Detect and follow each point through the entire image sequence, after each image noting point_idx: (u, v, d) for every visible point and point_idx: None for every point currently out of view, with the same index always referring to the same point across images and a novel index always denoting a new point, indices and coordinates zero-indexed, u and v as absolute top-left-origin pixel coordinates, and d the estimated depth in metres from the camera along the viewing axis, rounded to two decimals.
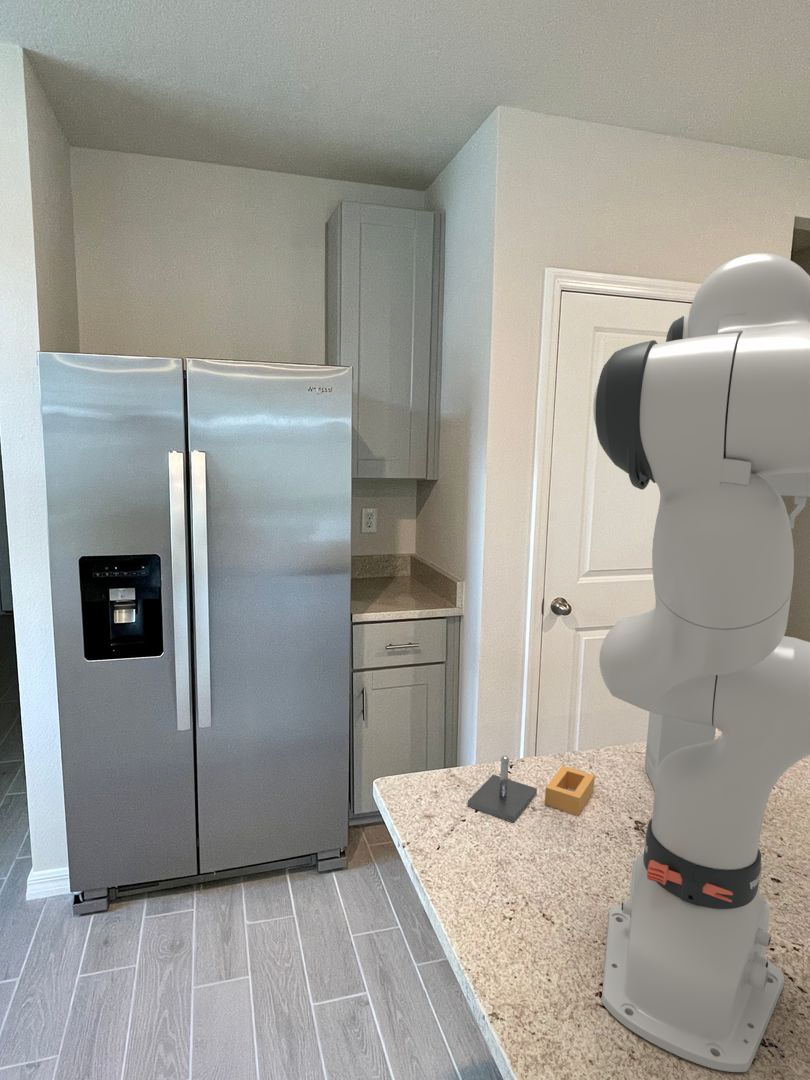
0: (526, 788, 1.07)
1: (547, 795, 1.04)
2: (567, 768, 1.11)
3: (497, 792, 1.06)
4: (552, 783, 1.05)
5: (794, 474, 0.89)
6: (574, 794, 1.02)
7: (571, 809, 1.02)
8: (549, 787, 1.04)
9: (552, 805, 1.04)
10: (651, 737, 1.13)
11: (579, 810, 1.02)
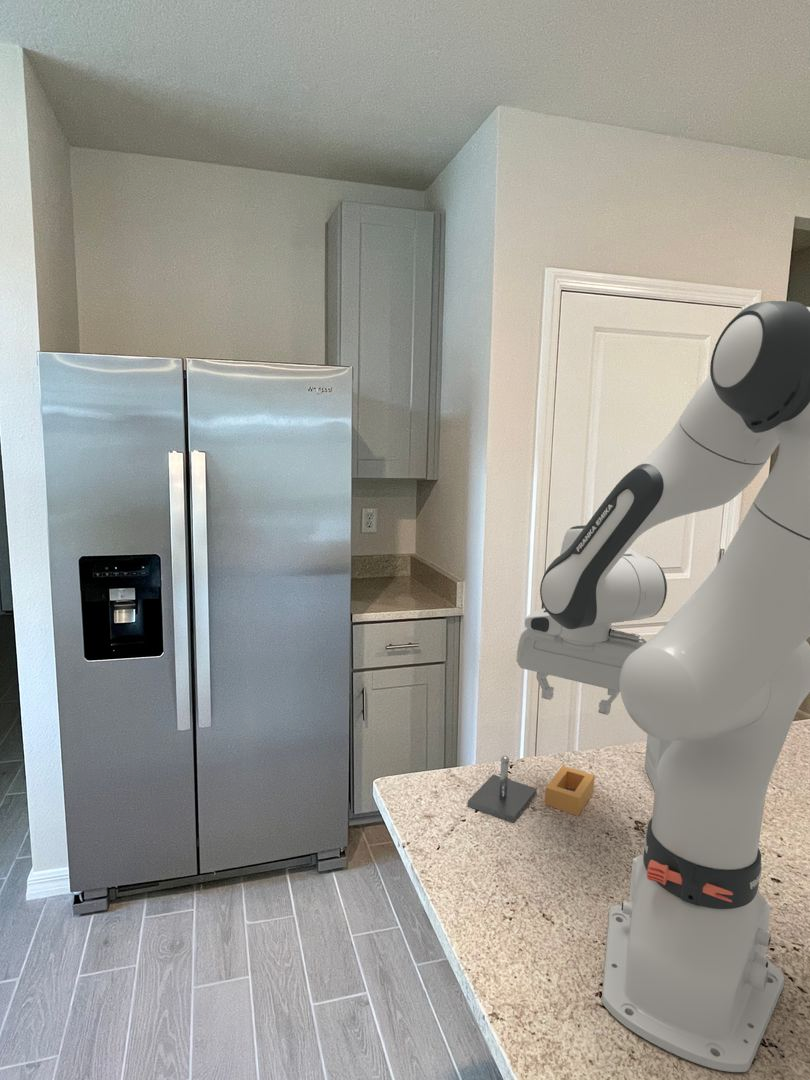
0: (526, 788, 1.07)
1: (547, 795, 1.04)
2: (567, 768, 1.11)
3: (497, 792, 1.06)
4: (552, 783, 1.05)
5: None
6: (574, 794, 1.02)
7: (571, 809, 1.02)
8: (549, 787, 1.04)
9: (552, 805, 1.04)
10: (651, 737, 1.13)
11: (579, 810, 1.02)
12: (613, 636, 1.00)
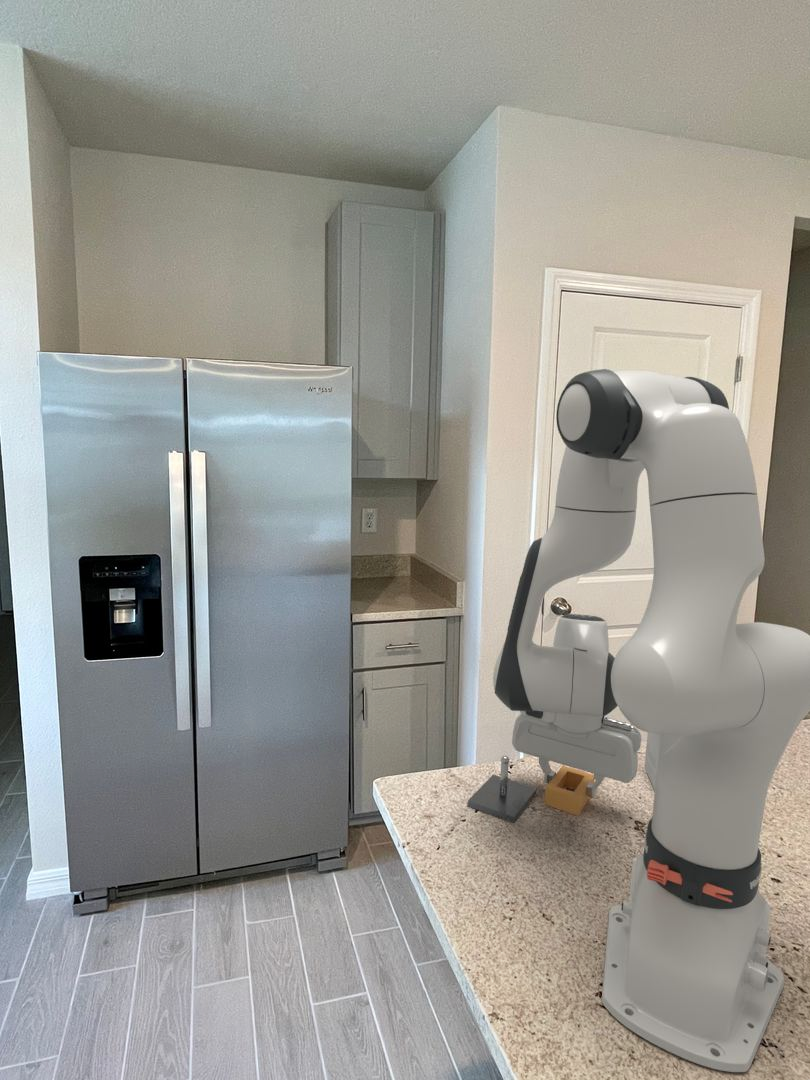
0: (526, 788, 1.07)
1: (547, 795, 1.04)
2: (567, 768, 1.11)
3: (497, 792, 1.06)
4: (552, 783, 1.05)
5: None
6: (574, 793, 1.02)
7: (571, 809, 1.02)
8: (549, 787, 1.04)
9: (552, 805, 1.04)
10: (651, 737, 1.13)
11: (579, 810, 1.02)
12: (606, 724, 1.02)
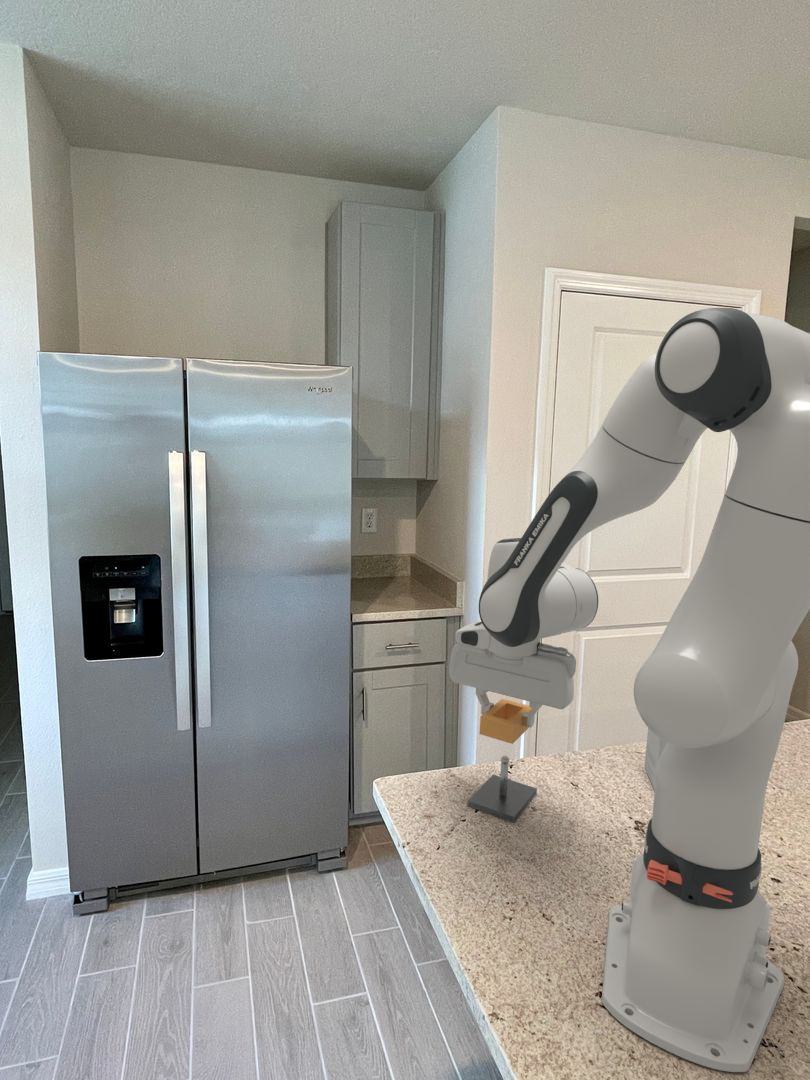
0: (526, 788, 1.07)
1: (482, 724, 1.01)
2: (507, 701, 1.07)
3: (497, 792, 1.06)
4: (488, 713, 1.02)
5: None
6: (509, 722, 0.99)
7: (505, 737, 0.99)
8: (484, 716, 1.01)
9: (487, 734, 1.01)
10: (651, 737, 1.13)
11: (513, 738, 0.99)
12: (541, 650, 0.99)
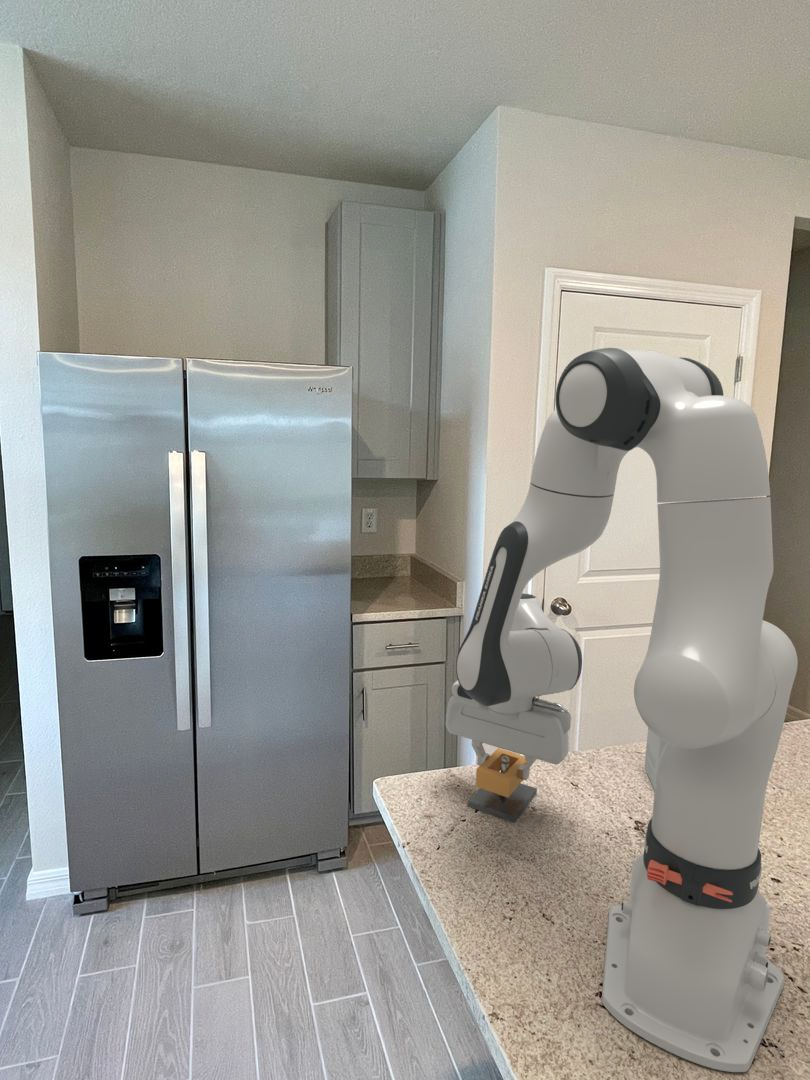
0: (526, 788, 1.07)
1: (478, 777, 1.02)
2: (502, 750, 1.09)
3: None
4: (484, 765, 1.04)
5: None
6: (504, 775, 1.01)
7: (501, 791, 1.01)
8: (480, 769, 1.02)
9: (483, 787, 1.02)
10: (651, 737, 1.13)
11: (509, 792, 1.00)
12: (536, 705, 1.00)
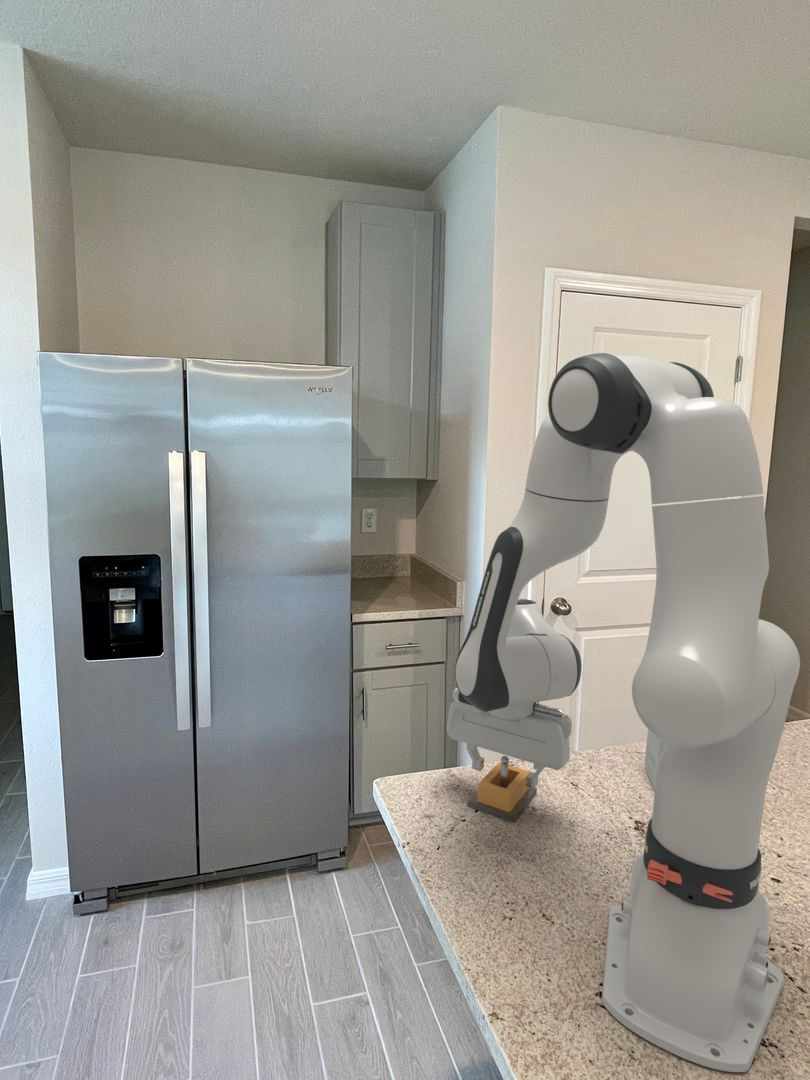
0: None
1: (479, 792, 1.03)
2: None
3: None
4: (485, 780, 1.04)
5: None
6: (506, 790, 1.01)
7: (502, 806, 1.01)
8: (481, 784, 1.03)
9: (484, 802, 1.02)
10: (651, 737, 1.13)
11: (510, 807, 1.01)
12: (537, 710, 1.00)
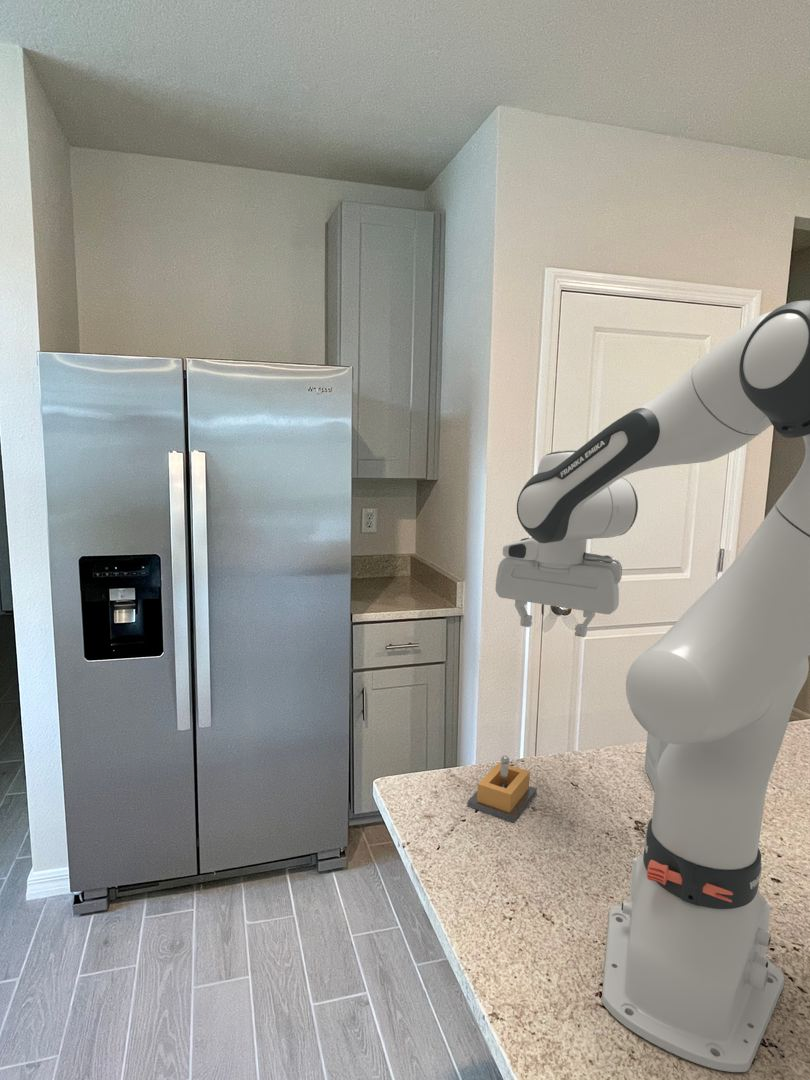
0: None
1: (479, 792, 1.03)
2: None
3: None
4: (485, 780, 1.04)
5: None
6: (506, 790, 1.01)
7: (502, 806, 1.01)
8: (481, 784, 1.03)
9: (484, 802, 1.02)
10: (651, 737, 1.13)
11: (510, 807, 1.01)
12: (587, 559, 1.03)
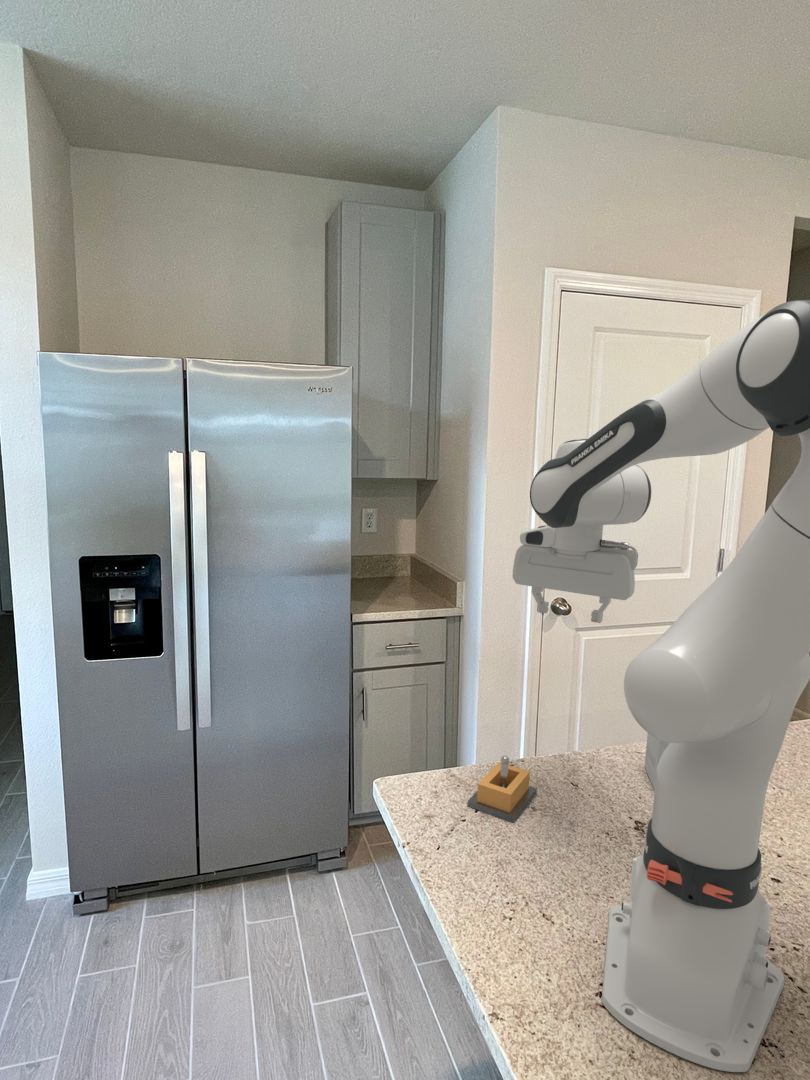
0: None
1: (479, 792, 1.03)
2: None
3: None
4: (485, 780, 1.04)
5: None
6: (506, 790, 1.01)
7: (502, 806, 1.01)
8: (481, 784, 1.03)
9: (484, 802, 1.02)
10: (651, 737, 1.13)
11: (510, 807, 1.01)
12: (604, 546, 1.05)
